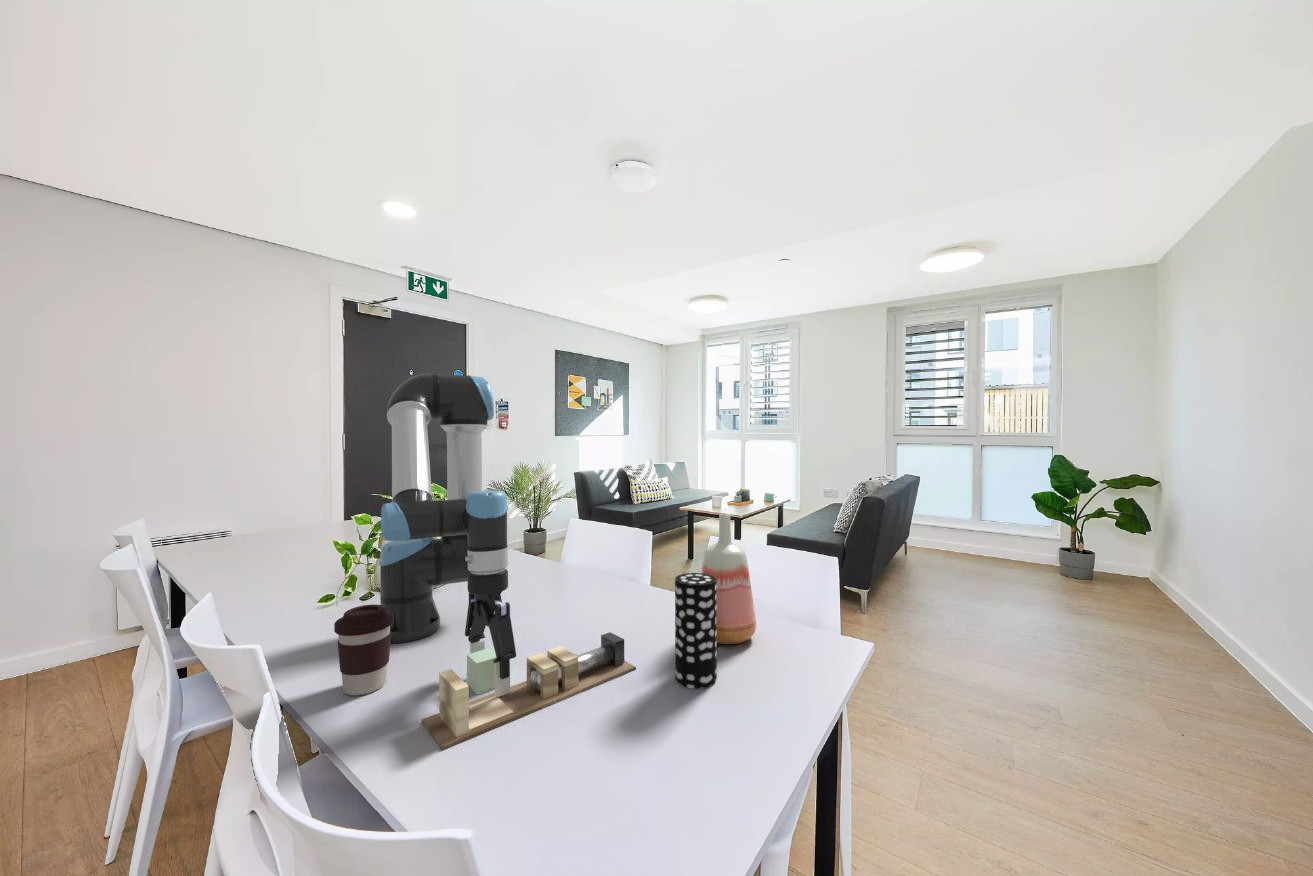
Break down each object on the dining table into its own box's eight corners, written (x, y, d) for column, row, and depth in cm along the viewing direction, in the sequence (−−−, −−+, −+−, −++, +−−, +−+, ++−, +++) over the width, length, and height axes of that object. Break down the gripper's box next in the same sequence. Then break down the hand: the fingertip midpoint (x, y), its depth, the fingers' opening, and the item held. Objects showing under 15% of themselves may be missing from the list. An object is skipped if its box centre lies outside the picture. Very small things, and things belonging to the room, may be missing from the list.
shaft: (528, 685, 94) (528, 659, 94) (610, 655, 107) (610, 632, 107) (541, 695, 90) (541, 668, 90) (624, 662, 103) (624, 639, 103)
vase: (687, 644, 114) (687, 517, 114) (705, 622, 128) (705, 508, 128) (749, 654, 109) (749, 521, 109) (761, 630, 122) (760, 511, 122)
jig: (422, 722, 83) (421, 675, 83) (607, 653, 110) (607, 617, 110) (442, 750, 76) (442, 698, 76) (635, 669, 102) (635, 630, 102)
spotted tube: (720, 671, 101) (720, 575, 101) (711, 691, 93) (711, 586, 93) (681, 665, 104) (681, 571, 103) (669, 684, 96) (669, 582, 96)
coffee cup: (367, 703, 89) (366, 621, 89) (321, 697, 91) (321, 617, 91) (405, 677, 99) (405, 603, 99) (363, 672, 101) (362, 599, 101)
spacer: (467, 685, 96) (466, 654, 96) (496, 675, 100) (496, 645, 100) (477, 695, 92) (477, 663, 92) (507, 684, 96) (507, 653, 96)
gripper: (447, 564, 102) (448, 671, 101) (494, 584, 85) (496, 713, 84) (482, 558, 107) (483, 660, 106) (534, 576, 90) (536, 698, 89)
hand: (489, 684), depth 95 cm, fingers open, 11 cm apart
